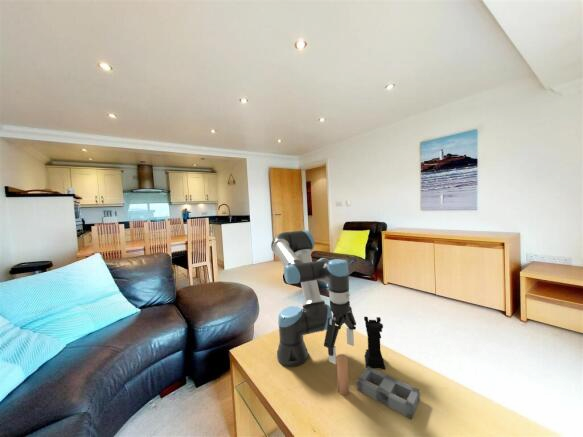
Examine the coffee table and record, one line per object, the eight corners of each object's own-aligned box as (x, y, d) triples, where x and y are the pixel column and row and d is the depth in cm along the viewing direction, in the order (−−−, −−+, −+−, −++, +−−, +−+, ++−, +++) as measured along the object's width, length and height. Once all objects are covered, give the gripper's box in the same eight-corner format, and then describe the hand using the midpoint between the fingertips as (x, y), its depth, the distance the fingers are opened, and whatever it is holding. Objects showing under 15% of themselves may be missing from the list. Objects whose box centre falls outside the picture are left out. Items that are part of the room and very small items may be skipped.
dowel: (336, 391, 93) (334, 358, 92) (341, 385, 96) (340, 353, 95) (345, 396, 90) (343, 362, 89) (350, 390, 93) (349, 357, 92)
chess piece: (385, 369, 103) (384, 326, 102) (366, 367, 105) (364, 325, 103) (382, 357, 111) (380, 316, 109) (364, 356, 113) (363, 316, 111)
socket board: (357, 389, 93) (356, 380, 93) (368, 374, 101) (367, 366, 100) (411, 419, 80) (411, 408, 79) (419, 399, 87) (419, 389, 87)
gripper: (330, 315, 78) (333, 376, 80) (363, 291, 97) (365, 341, 98) (312, 309, 83) (315, 366, 85) (346, 288, 102) (349, 335, 103)
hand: (342, 353), depth 91 cm, fingers open, 13 cm apart
